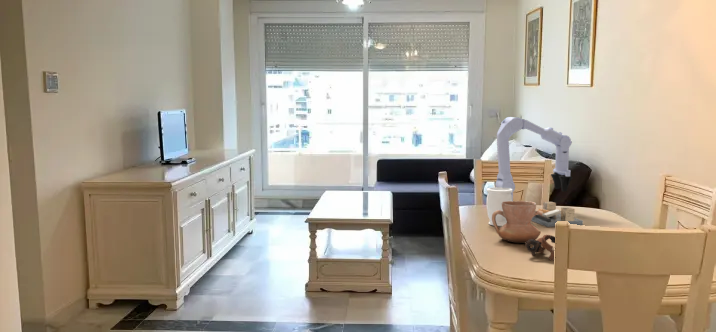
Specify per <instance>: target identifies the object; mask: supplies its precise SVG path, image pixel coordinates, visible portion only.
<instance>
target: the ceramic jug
mask: <svg viewBox="0 0 716 332" xmlns="http://www.w3.org/2000/svg"><path fill="white" fill-rule="evenodd" d="M536 208H537V203H536V202H534V201H530V200H528V201H526V200H516V201H515V200H513V201H505V202H502V209H503V211H500V210H497V211H495V212H494V213H493V214H492V222H493V225H494V226H493V225H492V226H493V227H494V229H495V230H496V233H497V235H498V236H499V237H500V238H501V239H502V240H504V241H506V242H510V243H515V244H516V243H517V244H526V242H527V241H528V240H530V239H533V240H538V239H539V237H540V235H541V232H542V231H541V230H540V229H538V228H537V227H536V226H534V225H533V224H532V223H531V222H532V221H531V220H532V218H533V217H534V216H535V215H538V214H540V215H542V214H543V212H542V211H538V210H536ZM497 214H500V215H502V216H503V217H505V218H506V220H507V223H506V224H505V225H503V226H497V223H496V215H497Z"/></svg>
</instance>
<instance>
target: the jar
mask: <svg viewBox="0 0 716 332" xmlns="http://www.w3.org/2000/svg"><path fill="white" fill-rule="evenodd" d="M486 192H487V195H486V212H487V217H488V219H489V221H488V225H491V226H493V227H495V226H494V225H493V222H492V214H493V213H494V212H495V211H497V210H500V211H503V209H502V202H505V201H512V196H511V192H512V189H510V188H502V187H496V186H493V187H488V188H486ZM496 223H497V226H498V227H502V226H503V225H505V224H506V223H507V220H506V218H505V217H503V216H502V215H500V214H497V215H496Z"/></svg>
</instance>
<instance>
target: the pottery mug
mask: <svg viewBox="0 0 716 332" xmlns="http://www.w3.org/2000/svg"><path fill="white" fill-rule="evenodd" d="M555 237H556V236H554V235H551V234H544V235H543V236H541V237H540V238H539V237H538V238H537V239H536V240H533V239H530V240H528V241H527V242H526V243H525V248H526V250H527V251H528V252H530V253H531V256H536V253H539V254H544V252H545V250H546V251H548V252H549V253H550V255H549V256H548V260H549V261H554V260H555V259H554V251H555V249H553V248H554V246H553V245H551V244H550V243H548V242H547V241H548V240H550V242H551V243H552V244H556V243H555ZM532 245H533V246H532ZM531 246H532V247H531Z"/></svg>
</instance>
